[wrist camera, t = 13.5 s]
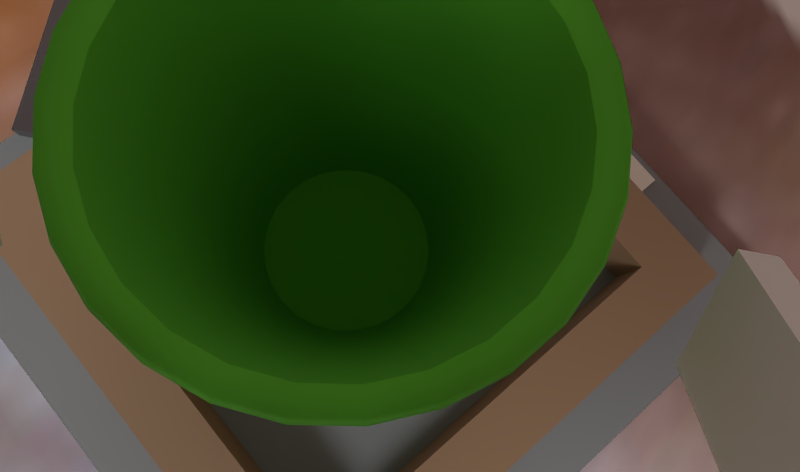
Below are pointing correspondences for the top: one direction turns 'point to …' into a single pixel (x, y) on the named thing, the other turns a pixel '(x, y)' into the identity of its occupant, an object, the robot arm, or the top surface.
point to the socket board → (386, 442)
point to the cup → (332, 191)
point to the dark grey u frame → (37, 73)
